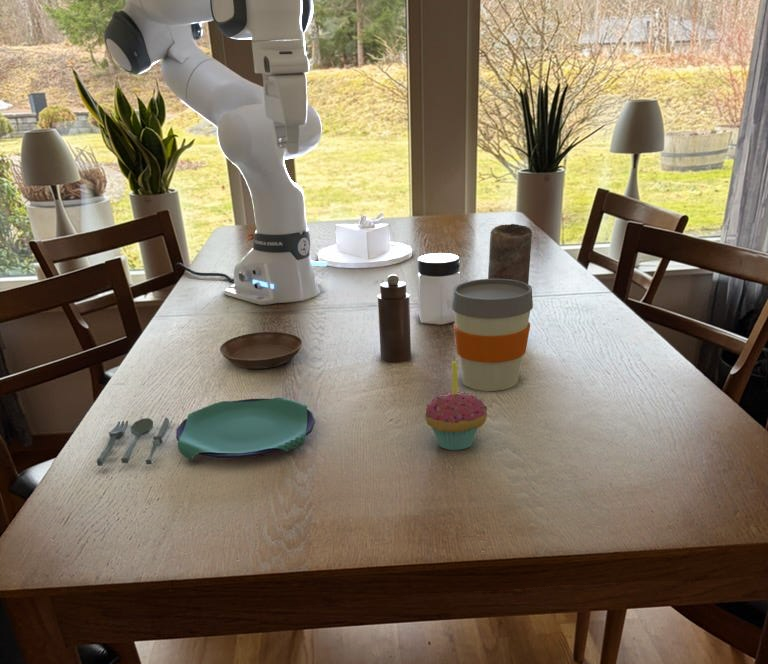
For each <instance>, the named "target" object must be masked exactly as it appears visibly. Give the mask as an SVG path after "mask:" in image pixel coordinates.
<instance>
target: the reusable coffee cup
mask: <svg viewBox="0 0 768 664" xmlns="http://www.w3.org/2000/svg"><path fill="white" fill-rule="evenodd" d="M533 300H534V299H533V288H532V286H531V285H530V284H529V283H528V284H527V283H524V282H521V281H516V280H509V279H488V278H482V279H481V278H480V279H473V280H468V281H463V282H462V283H461V282H460V284H459V285H457V286H455V288H454V291H453V301H452V309H453V311H454V314H455V322H453V327H452V328H453V334H454V341H455V351H456V355H458V356H459V361H460V368H461V369H460V370H461V378H462V383H463V385H465V387H468V388H470V389H472V390H477V391H484V392H497V391H504V390H508V389H510V388H513V387H515V386H516V385H517V384H518V382H519V381H518V380H519V378H520V377H519V376H520V370H521V365H522V359H523V356H524V355H525V354H526V353H527V346H528V340H529V336H530V335H529V334H530V329H531V323H530V322H529V320H530V314H531V311H532V310H533V308H534V303H533Z"/></svg>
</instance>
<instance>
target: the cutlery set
mask: <svg viewBox="0 0 768 664" xmlns="http://www.w3.org/2000/svg"><path fill="white" fill-rule="evenodd" d="M315 424H316V420H315V417H314V415H313V412H312V411H311V410H309V409H308V405H307V404H305V403H303V402H300V401H297V400H295V399H290V398H286V397H279V396H278V397H273V398H245V399H237V400H226V401H223V400H222V401H218V402H214V403H212V404H209V405H207V406H204V407H202V408H200V409H197V410H194V411H193V412H190V413H188V415H187V417H186V418H185V419H184V420H182V422H181V423H180V424H179V426H177V428H176V430H175V431H176V433H175V434H176V435H175V436H176V437H175V438H176V442H177V449H178V451H179V453H180V454H181V455H182V456H183V457H184V458H186V459H187V460H189V461H191V462H193V458H194V457H195V456H197V455H198V456H203V457H204V456H205V457H210V458H214V459H215V458H216V459H246V458H252V457H259V456H265V455H268V454H271V453H275V452H279V451H282V450H283V451H285V452H286V453H288V452H290V451H291V450H294V449H296V448H299V447H301V446H303V444H304V442H305V440H306V437H307V436H308V435H309V434H311V433H312V431H313V429H314V426H315ZM128 426H129V420H126V421H125V420H123V421H122V422H121V421H117V423H116V425H115V426H114V428H112V429H111V431H108V435H109V441H108V442H107V445H106V446H105V448H104V449H103V451H102V452H101V453H100V455H99V457H98V458H97V460H96V465H97V467H103V466H104V464H105V462H106V460H107V458H108V457H109V455H110V453H111V452H112V450H113V448H114V446H115V442H116V441H117V440H118V441H119V440H120V439H121V438H123V437H124V436H125V433H126V430H127V428H128ZM169 426H170V419H169V418H168V417H164V419H163V421H162V424H161V426H160V428H159V431H158V433H157V435H156V436H153V440H152V443H151V444H152V446H151V449H150V453H149V455H148V457H147V459H145V464H146V465H152V459H153V456H154V453H155V451H156V450H157V447H159V446H161V444H163V437H164V436H165V435H166V433H167V431H168V428H169ZM153 428H154V420H153V419H151V418H150V417H149V418H148V417H146V418H145V417H144V418H141V419H139V420H136V421H135V422H134V423H133V424H132V425H131V426H130V429H129V430H130V433H131V434H133V435H134V436H135V437H134V438H133V440H132V441H131V443H130V444H129V445H128V447H127V449H126V450H125V452H124V454H123V456H122V457H121V461H120V462H121V464H128V463H129V462H130V459H131V457H132V454H133V451H134V449H135V447H136V445H137V443H138V441H139V439H140V438H141V437H142V436H145V435H147V434H149V433H150V432H151V431H152V430H153Z"/></svg>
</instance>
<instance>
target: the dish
mask: <svg viewBox="0 0 768 664" xmlns="http://www.w3.org/2000/svg"><path fill="white" fill-rule="evenodd" d="M383 217H385V214H384V213H383V212H381V213H380V214H378V215H377V216H376V217H375V218H374V219H371V218H368V217H367V216H366V215H365V214H362V215H361V217H360V218H359V221H358V223H354V224H353V223H341V224H339V223H336V224H334V234H335V244H333V245H330V246H327V247H324V248H322V249H320V250H319V251H318V252H317V258H318V262H326V263H327V266H329V267H336V268H344V269H345V268H346V269H367V268H377V267H386V266H391V265H395V264H396V265H397V264H400V263H402V262H405V261H408V260H409V259H410V258H411V257H412V256H413V249H412V247H411V246H410V245H407V244H404V243H402V242H395V241H391V227H390V223H377V222H378V221H379V220H381V219H382V218H383Z"/></svg>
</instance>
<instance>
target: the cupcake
mask: <svg viewBox="0 0 768 664" xmlns="http://www.w3.org/2000/svg"><path fill="white" fill-rule="evenodd" d="M451 374H452V375H451V376H452V391H451V392H445V393H443V394H441V395H440V394H439V395H437V396H435V398H433V399H432V400H431V401H429V403H427V404H426V408H425V413H424V419H425V422H426V424H427V426H429V427H430V428H431V429H432V430H433V433H434V435H435V438H436V442H437V444H438V446H439V447H441V448H442V449H445V450H448V451H461V450H465V449H468V448H470V447H471V446H472V445H473V442H474V440H475V437H476V434H477V431H478V429H479V428H481V427H482V426H483V425H484V424H485V423H486V421H487V418H488V406H487V405H485V403H484V402H483V401H482V399H481V398H478V397H477V395H473V394H469V393H468V392H460V391H459V390H458V361H456V355H453V360H452V362H451Z"/></svg>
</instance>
